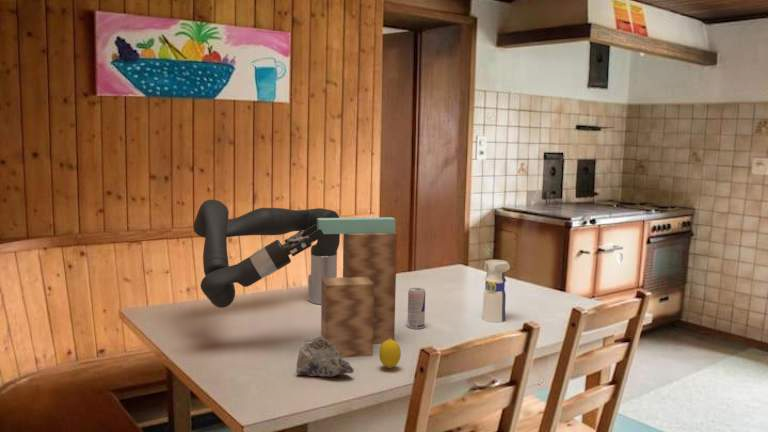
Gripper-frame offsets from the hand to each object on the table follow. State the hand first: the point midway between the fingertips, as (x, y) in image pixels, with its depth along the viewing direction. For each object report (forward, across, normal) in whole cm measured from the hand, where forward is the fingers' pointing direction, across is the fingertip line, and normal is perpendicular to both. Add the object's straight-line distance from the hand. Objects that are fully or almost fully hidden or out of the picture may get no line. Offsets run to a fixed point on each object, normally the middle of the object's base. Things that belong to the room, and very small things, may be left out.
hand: (320, 229), depth 186 cm
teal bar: (+8, 0, +6) cm, 10 cm away
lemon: (-4, -24, +36) cm, 44 cm away
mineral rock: (-19, -26, +28) cm, 43 cm away
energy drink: (+11, +10, +45) cm, 47 cm away
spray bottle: (+35, +14, +59) cm, 70 cm away
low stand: (-11, -9, +32) cm, 35 cm away
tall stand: (-4, 0, +36) cm, 36 cm away
